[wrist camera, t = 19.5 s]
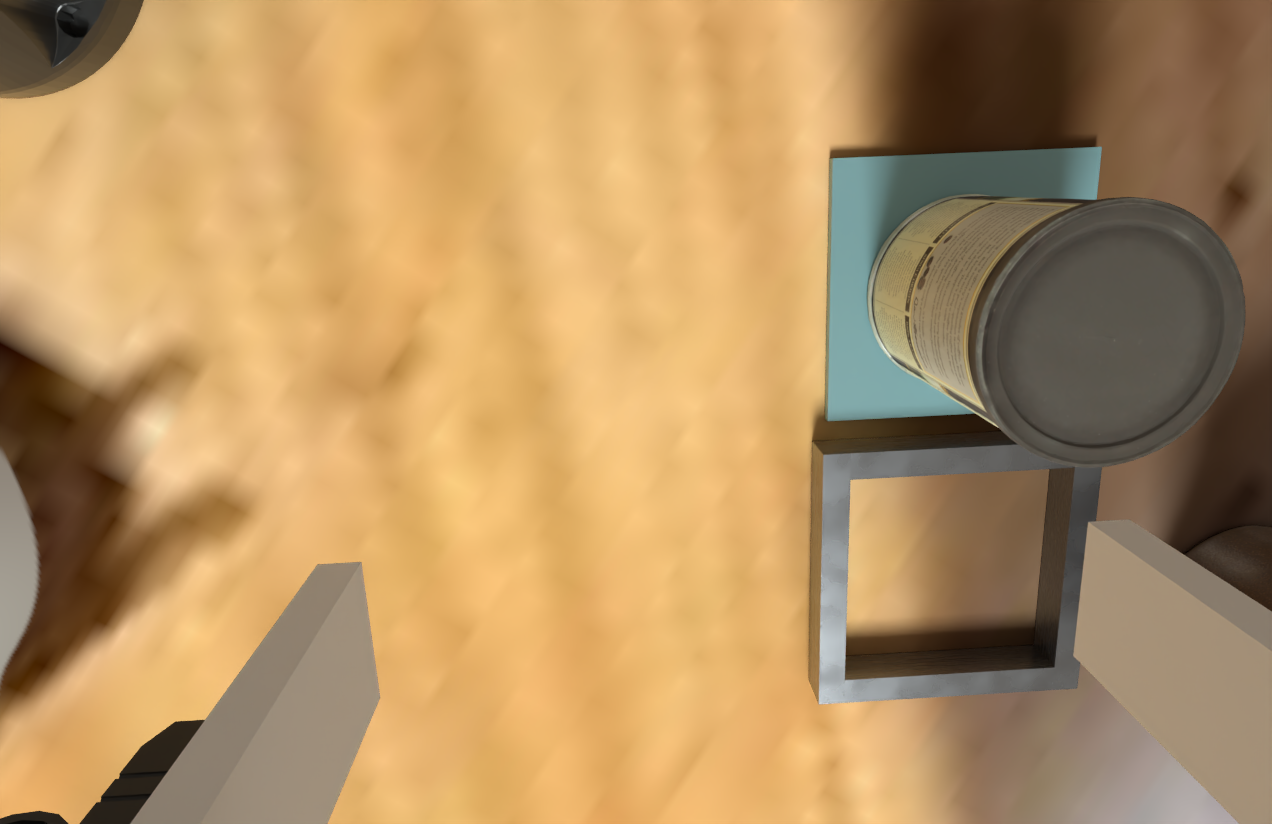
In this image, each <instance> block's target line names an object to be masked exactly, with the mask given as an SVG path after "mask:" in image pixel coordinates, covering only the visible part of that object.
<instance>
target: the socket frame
mask: <svg viewBox="0 0 1272 824" xmlns="http://www.w3.org/2000/svg"><path fill="white" fill-rule="evenodd" d="M1039 469H1050V475H1049V485H1048V496H1047V507H1046V517H1045V528H1044V539H1043V549H1042V560H1041V570H1040V581H1039V592H1038V602H1037V613H1036V624H1035V634H1034V645H1024V646H1007V647H990V648H974V649H957V650H940V651H923V652H907V653H890V654H873V655H857V656H845V655H846V619H847V582H848V546H849V510H850V480H853V479H872V478H891V477H909V476H928V475H946V474H965V473H983V472H1002V471H1020V470H1039ZM1101 470H1102V467H1092V468H1089V467H1074V466H1068V465H1063V464H1059V463H1055V462H1051V461H1049V460H1046V459H1044V458H1041V457H1039V456H1037V455H1035V454H1033V453H1031V452H1029V451H1027V450H1026V449H1024V448H1023V447H1021V446H1020V445H1019V444H1017V443H1016V442H1014V441H1013V440H1011V439H1010V438H1009V437H1008V436H1007V435H1006V434H1005V433H1004V432H1002V431H993V432H974V433H955V434H936V435H917V436H898V437H879V438H860V439H841V440H822V441H812V487H811V556H810V624H809V682H810V684H811V687H812V689H813V692H814V694H815V696H816V699H817V701H818V704H831V703H848V702H864V701H880V700H896V699H913V698H929V697H945V696H962V695H978V694H994V693H1010V692H1027V691H1043V690H1059V689H1075V688H1077V686H1078V677H1079V668H1080V662H1079V661H1078V660H1077V659H1076V658H1075V657H1074V656H1073V653H1074V644H1075V635H1076V626H1077V617H1078V608H1079V600H1080V591H1081V582H1082V573H1083V564H1084V555H1085V546H1086V537H1087V528H1088V522H1094V521H1096V515H1097V506H1098V497H1099V488H1100V479H1101Z"/></svg>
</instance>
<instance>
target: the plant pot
mask: <svg viewBox="0 0 1272 824" xmlns="http://www.w3.org/2000/svg"><path fill="white" fill-rule="evenodd" d="M1185 556H1187V557H1188V558H1190V559H1191V560H1193V561H1194V562H1196V563H1197V564H1199V565H1201V566H1202V567H1204V568H1205V569H1207V570H1208V571H1210V572H1211V573H1213V574H1214V575H1216V576H1218V577H1219V578H1221V579H1222V580H1224V581H1225V582H1227V583H1228V584H1230V585H1231V586H1233V587H1235V588H1236V589H1238V590H1239V591H1241V592H1242V593H1244V594H1245V595H1247V596H1248V597H1250V598H1252V599H1253V600H1255V601H1256V602H1258V603H1259V604H1261V605H1262V606H1264V607H1265V608H1267V609H1269V610H1270V611H1272V527H1266V526H1256V525H1250V526H1243V527H1238V528H1234V529H1231V530H1228V531H1224V532H1222V533H1220V534H1218V535H1215V536H1213V537H1211V538H1209V539H1207V540H1205V541H1204V542H1202V543H1200V544H1199V545H1197V546H1196V547H1194V548H1193V549H1192V550H1190V551H1189V552H1188V553H1186V554H1185Z"/></svg>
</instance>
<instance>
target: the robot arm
mask: <svg viewBox="0 0 1272 824" xmlns="http://www.w3.org/2000/svg"><path fill="white" fill-rule="evenodd" d="M142 3H143V0H0V98H31V97H38V96H44V95H48V94H52V93H55V92H58V91H61V90H64V89H67V88H69V87H71V86H73V85H76V84H77V83H79V82H81V81H83V80H85V79H86V78H88V77H89V76H91V75H92V74H94V73H95V72H96V71H97V70H99V69H100V68H101V67H102V66H104V65H105V64H106V63H107V62H108V61H109V60H110V59H111V58H112V57H113V55H114V54H115V53H116V52H117V51H118V50H119V48H120V47H121V45H122V44H123V43H124V41H125V40H126V38H127V37H128V35H129V33H130V32H131V30H132V28H133V26H134V24H135V22H136V19H137V17H138V14H139V12H140V9H141V6H142ZM1073 656H1074V657H1075V658H1076V659H1077V660H1078V661H1079V662H1080V663H1081V664H1082V665H1083V666H1084V667H1085V668H1086V669H1087V670H1088V671H1089V672H1090V673H1091V674H1092V675H1093V676H1094V677H1095V678H1096V679H1097V680H1098V681H1099V682H1100V683H1101V684H1102V685H1103V686H1104V687H1105V688H1106V689H1107V690H1108V691H1109V692H1110V693H1111V694H1112V695H1113V696H1114V698H1115V699H1116V700H1117V701H1118V702H1119V703H1120V704H1121V705H1122V706H1123V707H1124V708H1125V709H1126V710H1127V711H1128V712H1129V713H1130V714H1131V715H1132V716H1133V717H1134V718H1135V719H1136V720H1137V721H1138V722H1139V723H1140V724H1141V725H1142V726H1143V727H1144V728H1145V729H1146V730H1147V731H1148V732H1149V733H1150V734H1151V735H1152V736H1153V737H1154V738H1155V739H1156V740H1157V741H1158V742H1159V743H1160V744H1161V745H1162V746H1163V747H1164V748H1165V749H1166V750H1167V751H1168V752H1169V753H1170V754H1171V755H1172V756H1173V757H1174V758H1175V759H1176V760H1177V761H1178V762H1179V763H1180V764H1181V765H1182V766H1183V767H1184V768H1185V769H1186V770H1187V771H1188V772H1189V773H1190V774H1191V775H1192V776H1193V777H1194V778H1195V779H1196V780H1197V781H1198V782H1199V783H1200V784H1201V785H1202V786H1203V787H1204V788H1205V789H1206V790H1207V791H1208V792H1209V793H1210V794H1211V795H1212V796H1213V797H1214V798H1215V800H1216V801H1217V802H1218V803H1219V804H1220V805H1221V806H1222V807H1223V808H1224V809H1225V810H1226V811H1227V812H1228V813H1229V814H1230V815H1231V816H1232V817H1233V818H1234V819H1235V820H1236V821H1237V822H1238V823H1239V824H1272V611H1270V610H1269V609H1267V608H1265V607H1264V606H1262V605H1261V604H1259V603H1258V602H1256V601H1255V600H1253V599H1252V598H1250V597H1248V596H1247V595H1245V594H1244V593H1242V592H1241V591H1239V590H1238V589H1236V588H1235V587H1233V586H1231V585H1230V584H1228V583H1227V582H1225V581H1224V580H1222V579H1221V578H1219V577H1218V576H1216V575H1214V574H1213V573H1211V572H1210V571H1208V570H1207V569H1205V568H1204V567H1202V566H1201V565H1199V564H1197V563H1196V562H1194V561H1193V560H1191V559H1190V558H1188V557H1187V556H1185V555H1183V554H1182V553H1180V552H1179V551H1177V550H1176V549H1174V548H1173V547H1171V546H1170V545H1168V544H1166V543H1165V542H1163V541H1162V540H1160V539H1159V538H1157V537H1156V536H1154V535H1153V534H1151V533H1149V532H1148V531H1146V530H1145V529H1143V528H1142V527H1140V526H1139V525H1137V524H1136V523H1134V522H1132V521H1131V520H1112V521H1094V522H1088V528H1087V537H1086V546H1085V555H1084V564H1083V573H1082V582H1081V591H1080V600H1079V608H1078V617H1077V626H1076V635H1075V644H1074V653H1073ZM379 699H380V693H379V685H378V678H377V671H376V664H375V657H374V650H373V642H372V635H371V628H370V621H369V614H368V607H367V599H366V592H365V585H364V578H363V571H362V564H361V562H352V563H334V564H318V565H317V566H316V567H315V569H314V570H313V572H312V573H311V574H310V576H309V577H308V578H307V580H306V581H305V583H304V584H303V585H302V587H301V588H300V590H299V591H298V592H297V594H296V595H295V596H294V598H293V599H292V601H291V602H290V603H289V605H288V606H287V608H286V609H285V610H284V612H283V613H282V614H281V616H280V617H279V619H278V620H277V621H276V623H275V624H274V625H273V627H272V628H271V630H270V631H269V632H268V634H267V635H266V637H265V638H264V639H263V641H262V642H261V643H260V645H259V646H258V648H257V649H256V650H255V652H254V653H253V655H252V656H251V657H250V659H249V660H248V661H247V663H246V664H245V666H244V667H243V668H242V670H241V671H240V673H239V674H238V675H237V677H236V678H235V679H234V681H233V682H232V684H231V685H230V686H229V688H228V689H227V691H226V692H225V693H224V695H223V696H222V697H221V699H220V700H219V702H218V703H217V704H216V706H215V707H214V708H213V710H212V711H211V713H210V714H209V715H208V717H207V718H206V720H195V721H179V722H174V723H173V724H172V725H170V726H169V727H167V728H166V729H165V730H163V731H162V732H161V733H159V734H158V735H156V736H155V737H154V738H152V739H151V740H150V741H148V742H147V743H145V744H144V745H143V746H141V748H140V749H139V750H138V751H137V753H136V754H135V755H134V756H133V758H132V759H131V760H130V761H129V763H128V764H127V765H126V766H125V768H124V769H123V770H122V771H121V773H120V777H119V779H115V780H114V781H113V783H112V784H111V785H110V786H109V788H108V789H107V790H106V791H105V793H104V794H103V795H102V796H101V802H98V803H96V804H95V805H94V806H93V808H92V809H91V810H90V811H89V813H88V814H87V815H86V816H85V818H84V819H83V820H82V821H81V823H80V824H327V823H328V821H329V819H330V816H331V814H332V811H333V809H334V807H335V804H336V802H337V799H338V797H339V795H340V792H341V790H342V788H343V785H344V783H345V780H346V778H347V776H348V773H349V771H350V768H351V766H352V764H353V761H354V759H355V756H356V754H357V752H358V749H359V747H360V745H361V742H362V740H363V737H364V735H365V733H366V730H367V728H368V725H369V723H370V721H371V718H372V716H373V713H374V711H375V709H376V706H377V704H378V702H379ZM0 824H68V823H67V822H66V821H65V820H64V819H63V818H62V817H61V816H60V815H59V814H54V813H48V812H42V811H35V812H28V813H21V814H13V815H10V816H7V817H4V818H1V819H0Z"/></svg>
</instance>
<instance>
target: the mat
mask: <svg viewBox="0 0 1272 824" xmlns="http://www.w3.org/2000/svg"><path fill="white" fill-rule="evenodd" d="M1101 150H1102V147H1086V148H1063V149H1039V150H1016V151H993V152H970V153H946V154H923V155H900V156H876V157H853V158H831V159H830V168H829V222H828V276H827V330H826V383H825V419H826V420H827V421H842V420H861V419H881V418H900V417H919V416H938V415H958V414H975V413H974V412H972V411H971V410H969V409H967V408H966V407H964V406H963V405H961V404H959V403H958V402H956V401H954V400H953V399H951V398H950V397H948V396H946V395H945V394H943V393H942V392H940V391H939V390H937V389H935V388H934V387H932V386H930V385H929V384H927V383H926V382H924V381H922V380H921V379H918V378H916V377H914V376H912V375H910V374H907V373H906V372H905V371H903V370H902V369H900V368H899V367H898V366H897V365H895V364H894V363H893V362H892V361H891V360H890V359H889V358H888V357H887V355H886V354H885V353H884V351H883V350H882V349H881V347H880V346H879V344H878V342H877V340H876V338H875V336H874V333H873V330H872V327H871V324H870V321H869V317H868V305H867V293H868V283H869V279H870V274H871V271H872V267H873V265H874V262H875V260H876V258H877V256H878V253H879V251H880V249H881V247H882V246H883V244H884V242H885V241H886V240H887V238H888V237H889V236H890V235H891V234H892V232H893V231H894V230H895V229H896V228H897V227H898V226H899V225H900V224H901V223H902V222H903V221H904V220H905V219H906V218H907V217H909V216H910V215H911V214H913V213H914V212H916V211H917V210H919V209H920V208H922V207H924V206H926V205H928V204H930V203H932V202H935V201H937V200H939V199H942V198H946V197H949V196H956V195H964V194H980V195H988V196H1001V197H1023V198H1059V199H1087V200H1097V190H1098V180H1099V170H1100V160H1101Z"/></svg>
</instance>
